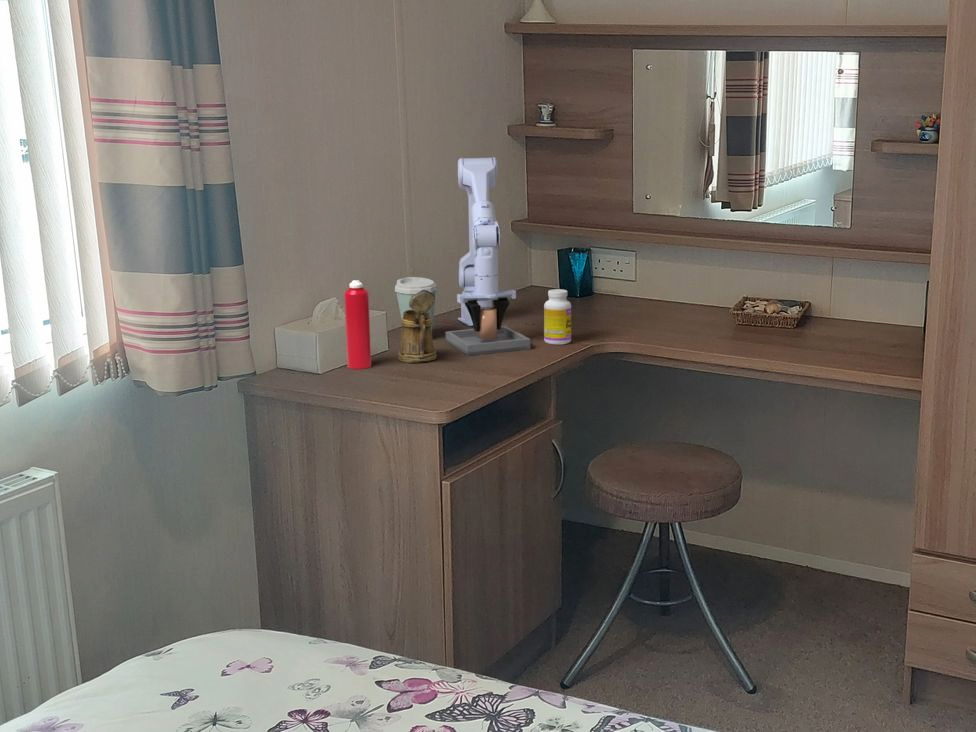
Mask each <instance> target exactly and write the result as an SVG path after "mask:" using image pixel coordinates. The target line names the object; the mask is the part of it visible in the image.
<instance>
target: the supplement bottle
mask: <svg viewBox="0 0 976 732" xmlns="http://www.w3.org/2000/svg"><path fill="white" fill-rule="evenodd" d="M547 296H548V300H546V301H545V303H544V304H543V309H544V310H543V313H544V314H543V316H544V317H543V319H544V320H543V323H544V324H543V339H544V342H545V343H546V344H548V345H555V346H556V345H557V346H559V345H567V344H569V343H571V341H572V303H571V302H570V301H569V300H568V299H567V297H568V290H566V289H561V288H560V289H559V288H555V289H549V290H548V291H547Z"/></svg>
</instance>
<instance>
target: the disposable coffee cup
mask: <svg viewBox="0 0 976 732" xmlns="http://www.w3.org/2000/svg"><path fill="white" fill-rule="evenodd" d="M422 290H426V291H429V292H431V293H432V294H434V296H435V297H436V292H437V290H438V289H437V284H436V282H435V281H434V280H432V279H430V278H427V277H417V276H409V277H403V278H399V279H397V280H396V284H395V285H394V292H395V293H396V294H395V295H396V297H397V303H398V307H399V312H400V319H401V320H402V318H403V312H404V311H406V310H412V309H411V308H410V307H409V301H410V299H411V297H412V296H414V295H415V294H416V293H418V292H420V291H422ZM428 312H429V316H430V318H431V321H432V325H431V332H432V333H433V323H434V313H435V303H434V305H433V307H432V308H431V309H430V310H429V311H428Z"/></svg>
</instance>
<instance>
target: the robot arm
mask: <svg viewBox="0 0 976 732" xmlns="http://www.w3.org/2000/svg"><path fill="white" fill-rule="evenodd" d="M498 166H499V165H498V159H497V158H496V157H495V156H491V157H474V158H473V157H470V158H468V157H467V158H466V157H465V158H463V157H460V158H459V159H458V160H457V177H458V179H457V180H458V182H457V184H458V186H459V189H462V190H464V191H466V192H465V193H467V198H468V200H467V202H468V203H467V204H468V207H467V208H468V248H469V249H468V250H469V251H468V252H467V253H466V254H464V255H463V256H462V257H461V258H460V259H459V263H458V265H459V266H458V284H459V285H458V286H459V287H460V288H461V289H463V291H462V292H461V293H458V294H457V293H456V302H457V303H458V304H460V312H461V313H460V315H461V317H457V320H458V321H460V322H461V323H463V324H465V325H467V326H469V327H472V326H473V329H474V330H475V331H476V332H479V331H480V321H479V317H480V308H481V307H495V308H497V329H498V330H499V329H501V326H502V323H503V319H504V317H505V314H506V311H507V310H508V308H509V306H510V300H509V299H513V300H515V299H516V298H517V291H516V290H515V289H499V248H500V245H501V231H500V226H499V224H498V220H496V219H497V218H496V211H495V210H496V209H495V208H496V207H495V206H494V204H493V203H492V202H491V201H490V189H493V188H495V185H496V184H497V181H498V176H499V175H498V173H499V172H498V171H499V169H498Z"/></svg>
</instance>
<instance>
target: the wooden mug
mask: <svg viewBox="0 0 976 732" xmlns="http://www.w3.org/2000/svg"><path fill="white" fill-rule="evenodd" d="M435 302H436V295H435V296H434V294H432V293H431V292H429V291H426V290H422V291H420V292H418V293H416V294H415V295H414V296H412V297H411V299H410V301H409V307H410V308H411V309H412V310H406V311H404V312H403V318H402V319H401V323H400V324H401V333H400V342H399V343H400V344H399V350H398V352H397V361H400V362H402V363H406V364H407V363H408V364H422V363H423V364H424V363H428V362H429V363H430V362H433V361H435V360H436V358H437V352H436V349H435V348H434V347H435V346H434V340H433V334H432V333H433V331H432V332H431V325H432V321H431V318H430V316H429V312H428V311H429V310H430V309H431V308H432V307H433V305H434V303H435ZM434 306H435V305H434Z"/></svg>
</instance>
